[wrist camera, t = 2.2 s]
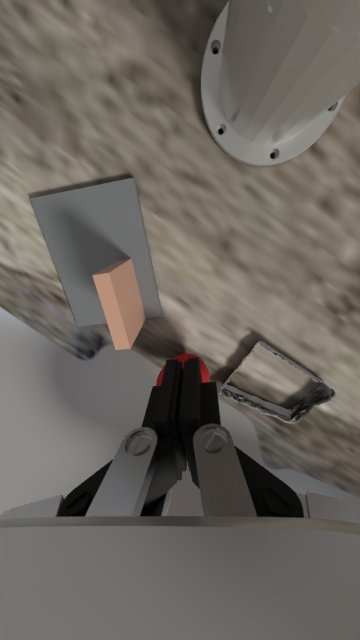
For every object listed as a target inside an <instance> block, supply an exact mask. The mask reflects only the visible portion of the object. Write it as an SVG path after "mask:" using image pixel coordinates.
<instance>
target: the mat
mask: <svg viewBox="0 0 360 640" xmlns="http://www.w3.org/2000/svg"><path fill="white" fill-rule="evenodd" d="M30 200H31V203H32V205H33V208H34V211H35V213H36V216H37V219H38V221H39V224H40V227H41V229H42V232H43V235H44V237H45V240H46V243H47V245H48V248H49V250H50V253H51V256H52V258H53V261H54V264H55V266H56V269H57V272H58V274H59V277H60V280H61V282H62V285H63V288H64V290H65V293H66V296H67V298H68V301H69V304H70V306H71V309H72V312H73V314H74V317H75V320H76V322H77V325H78V327H79V326H88V325H96V324H105V323H107V320H106V317H105V314H104V311H103V308H102V304H101V301H100V298H99V295H98V292H97V289H96V285H95V282H94V279H93V276H92V275H94V274H95V273H97V272H99V271H101V270H102V269H104V268H106V267H108V266H110V265H111V264H113V263H115V262H117V261H118V260H124V259H132V263H133V267H134V271H135V275H136V280H137V284H138V288H139V292H140V296H141V301H142V305H143V309H144V313H145V317H146V319H149V318H158V317H162V310H161V305H160V300H159V295H158V290H157V285H156V281H155V276H154V271H153V266H152V261H151V256H150V251H149V246H148V241H147V237H146V232H145V227H144V222H143V217H142V212H141V207H140V202H139V197H138V192H137V188H136V183H135V178H129V179H124V180H119V181H114V182H109V183H104V184H99V185H95V186H90V187H85V188H80V189H75V190H70V191H65V192H60V193H55V194H50V195H45V196H40V197H35V198H30Z"/></svg>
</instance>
